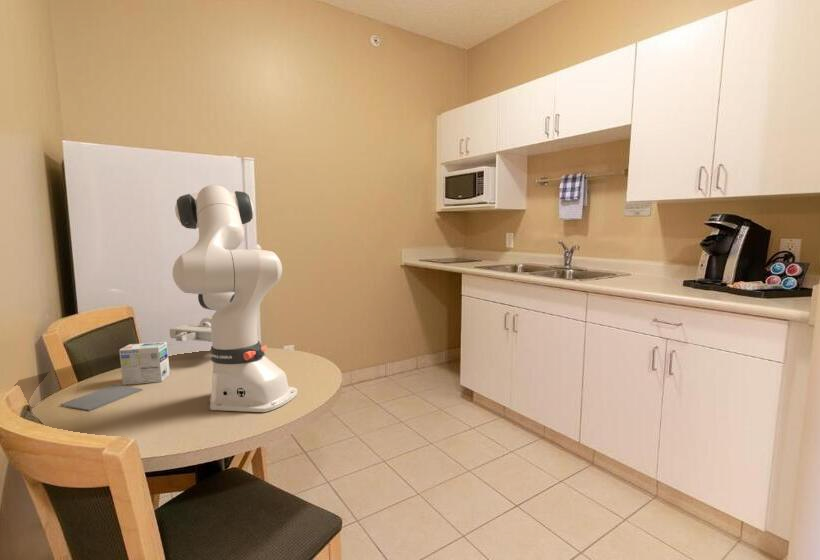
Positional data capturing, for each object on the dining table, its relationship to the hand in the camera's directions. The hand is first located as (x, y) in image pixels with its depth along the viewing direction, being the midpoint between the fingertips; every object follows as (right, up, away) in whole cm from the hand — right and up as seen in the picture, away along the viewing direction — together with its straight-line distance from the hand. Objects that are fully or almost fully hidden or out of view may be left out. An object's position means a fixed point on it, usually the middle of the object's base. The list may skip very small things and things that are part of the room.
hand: (178, 338), depth 132 cm
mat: (-7, -12, -23) cm, 27 cm away
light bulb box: (-4, -11, -10) cm, 15 cm away
